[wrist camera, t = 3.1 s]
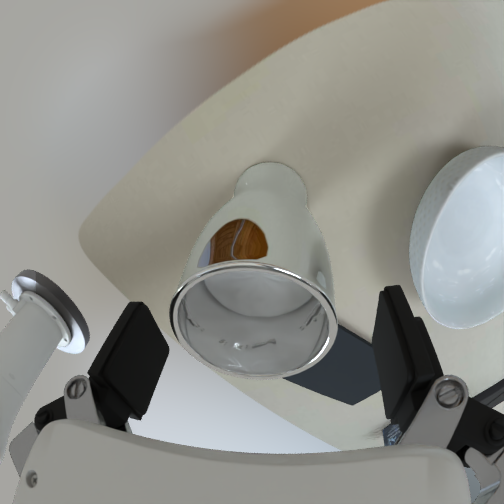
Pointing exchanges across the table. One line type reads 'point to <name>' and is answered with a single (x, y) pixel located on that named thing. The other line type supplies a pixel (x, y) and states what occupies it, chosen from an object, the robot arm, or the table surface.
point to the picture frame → (492, 395)
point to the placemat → (343, 370)
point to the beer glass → (258, 282)
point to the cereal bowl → (461, 240)
